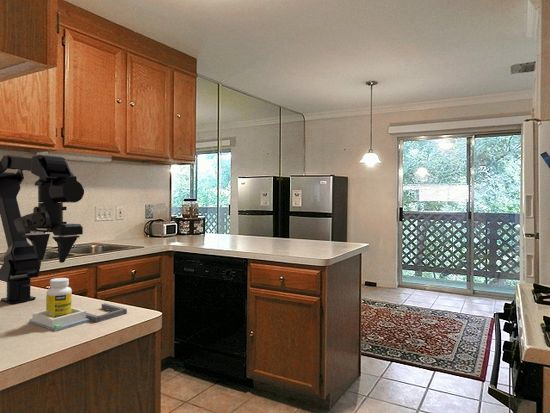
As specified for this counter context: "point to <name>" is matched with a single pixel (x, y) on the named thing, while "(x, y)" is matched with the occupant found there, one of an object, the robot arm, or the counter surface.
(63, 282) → the supplement bottle
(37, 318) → the panel
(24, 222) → the robot arm
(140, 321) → the counter surface
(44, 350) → the counter surface
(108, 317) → the holster cradle
